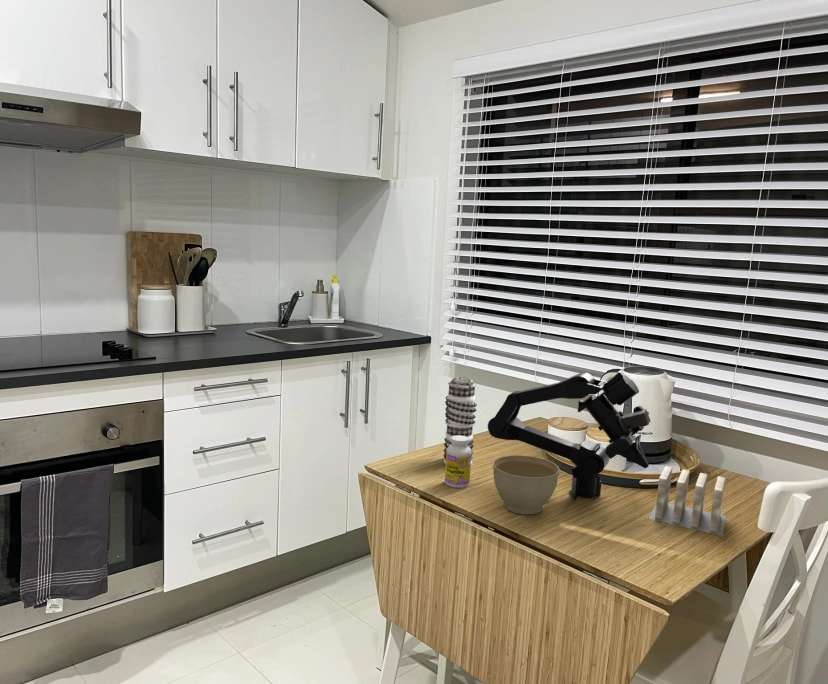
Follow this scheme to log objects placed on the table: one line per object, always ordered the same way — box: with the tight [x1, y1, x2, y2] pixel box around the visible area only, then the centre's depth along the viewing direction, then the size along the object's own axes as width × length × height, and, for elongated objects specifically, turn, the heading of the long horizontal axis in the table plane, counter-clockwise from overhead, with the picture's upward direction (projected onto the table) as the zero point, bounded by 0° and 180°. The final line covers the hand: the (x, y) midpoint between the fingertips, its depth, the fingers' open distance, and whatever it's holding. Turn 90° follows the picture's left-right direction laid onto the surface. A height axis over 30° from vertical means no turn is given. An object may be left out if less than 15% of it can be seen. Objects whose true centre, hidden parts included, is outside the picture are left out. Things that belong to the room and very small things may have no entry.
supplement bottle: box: [444, 435, 473, 489], centre depth 175 cm, size 7×7×13 cm
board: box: [648, 502, 727, 537], centre depth 158 cm, size 16×13×1 cm
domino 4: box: [709, 475, 726, 532], centre depth 154 cm, size 2×10×10 cm, turn 151°
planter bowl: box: [492, 454, 560, 515], centre depth 161 cm, size 16×16×11 cm
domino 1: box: [655, 465, 673, 519], centre depth 160 cm, size 2×10×10 cm, turn 151°
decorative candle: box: [442, 376, 478, 465], centre depth 190 cm, size 9×9×25 cm
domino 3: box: [691, 472, 708, 528], centre depth 156 cm, size 2×10×10 cm, turn 151°
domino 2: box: [673, 469, 691, 523], centre depth 158 cm, size 2×10×10 cm, turn 151°
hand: (647, 467), depth 161 cm, fingers closed
